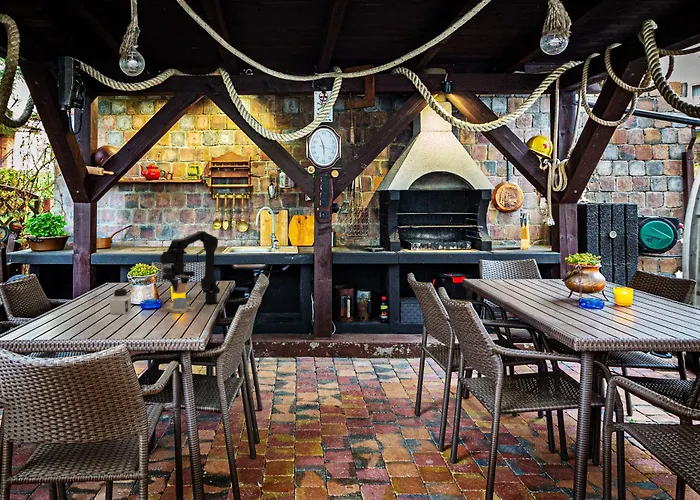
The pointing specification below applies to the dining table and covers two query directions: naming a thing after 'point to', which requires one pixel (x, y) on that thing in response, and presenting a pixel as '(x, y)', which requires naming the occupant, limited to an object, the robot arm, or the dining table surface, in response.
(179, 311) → the birch base
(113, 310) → the container
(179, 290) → the terracotta block
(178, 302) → the gray block
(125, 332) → the dining table surface
